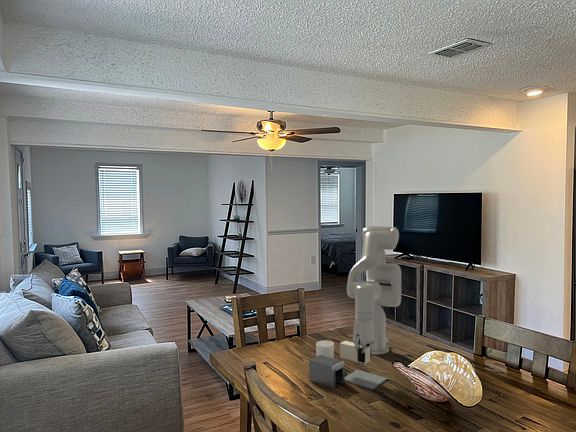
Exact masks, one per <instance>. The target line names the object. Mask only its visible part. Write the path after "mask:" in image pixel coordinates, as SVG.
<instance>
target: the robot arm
mask: <svg viewBox="0 0 576 432" xmlns="http://www.w3.org/2000/svg"><path fill="white" fill-rule="evenodd" d="M361 238H362V247H361V248H362V250H361V257H360V259H359V261H358V262H356V263H355V264H354V265H353V267H352V268H351V269H350V271H349V273H348V277H347V284H346V293H347V296H348V297H349V298H350V299H351V298H352V299H355V300H354V301H355V302H354V303H355V304H354V305H355V306H354V308H355V310H354V311H355V312H354V314H355V315H354V317H355V318H354V322H353V323H354V324H353V331H352V333H353V334H352V342H353V343H354V344H355V345H354V348H356V349H357V352H358V361H359V362H362V363H361V364H363V363H365V353H364V350H365V346H369V347H370V360H371V359H372V355H378V356H380V355H385V354H387V353H389V351H390V348H389V347H388V346H387V343H389V338H387V337H386V333H387V332H386V331H387V330H386V328H387V327H386V321H387V319H386V317H387V316H386V313H385V310H384V309H383V308H382V307H392V308H395V307H396V308H397V307H400V305H401V302H402V269H401V266H400V265H399V264H398V263H394V262H393V263H391V262H386V260H387V258H386V257H387V256H386V255H387V254H386V250H387V251H389V250H390V251H391V250H395V249H396V247H397V245H398V243H399V239H400V232H399V230H398V228H397V227H395V226H377V225H376V226H365V227H363V229H362V230H361ZM365 272H367V279H368V280H356V279H357V278H358V276H359V275H360V274H362V273H365ZM380 283H381V284H390V285H391V286H390V285H381V284H380ZM360 346H362V348H361V347H360ZM359 362H358V363H359Z"/></svg>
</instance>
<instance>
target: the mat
mask: <svg viewBox="0 0 576 432" xmlns="http://www.w3.org/2000/svg"><path fill="white" fill-rule="evenodd" d="M387 380H388V377H384V376H382V375H381V376H380V375H378V374H374V373H371V372H366V371H364V370H360V369H356V370H354V371H353V372H350V373H348V374H347V375H346V376H345V382H346V383H350V384H353V385H357V386H360V387H363V388H366V389H368V390H369V389H370V390H371V391H372V390H375V389H376V388H377V387H378V386H380V385H381V384H383V383H384V382H386V381H387Z"/></svg>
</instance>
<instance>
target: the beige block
mask: <svg viewBox="0 0 576 432" xmlns="http://www.w3.org/2000/svg"><path fill="white" fill-rule="evenodd" d="M354 345H355V344H354V343H353V341H348V340H343V341H341V342H340V343H339V358H340V359H345V360H349V361H353V362H356V363H360V364H364V365H366V364H368V363H370V362H371V359H370V347H369V346H365V350H364V353H365V363H362V362H359V361H358V352H357V349H356V348H354ZM360 347H361V348H362V346H360Z"/></svg>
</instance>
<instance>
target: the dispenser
mask: <svg viewBox="0 0 576 432" xmlns="http://www.w3.org/2000/svg"><path fill="white" fill-rule="evenodd" d="M308 365H309V366H308V367H309V368H308V371H309V372H308V380H309V382H311V383H315V384H318V385H321V386H325V387H327V388H330V389H333V390H335V389H336V386H337V384H336V383H340V384H344V383H345V382H346V381H345V377H346V376H345V372H346V371H345V366H346V365H345V361H344V360H341V359H336V358H334V357H333V358H330V357H326V356H323V355H319V356H317V355H316V356H315V357H313V358H311V359H308Z"/></svg>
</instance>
